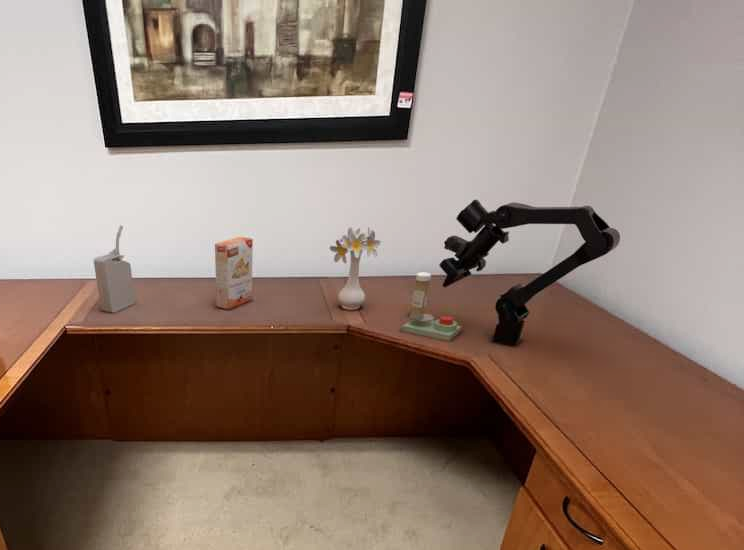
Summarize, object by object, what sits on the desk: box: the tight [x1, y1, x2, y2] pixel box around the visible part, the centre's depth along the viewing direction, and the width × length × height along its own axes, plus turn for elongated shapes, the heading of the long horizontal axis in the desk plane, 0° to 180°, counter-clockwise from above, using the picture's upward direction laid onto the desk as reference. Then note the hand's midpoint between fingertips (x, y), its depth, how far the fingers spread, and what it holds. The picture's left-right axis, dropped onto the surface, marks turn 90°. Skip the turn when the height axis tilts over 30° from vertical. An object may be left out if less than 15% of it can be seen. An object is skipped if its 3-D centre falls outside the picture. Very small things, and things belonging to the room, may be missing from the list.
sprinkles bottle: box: [409, 271, 432, 316], centre depth 181 cm, size 5×5×13 cm
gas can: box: [93, 224, 136, 314], centre depth 190 cm, size 15×5×25 cm, turn 150°
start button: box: [440, 315, 454, 325], centre depth 169 cm, size 4×4×2 cm
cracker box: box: [214, 236, 254, 310], centre depth 192 cm, size 14×6×21 cm, turn 143°
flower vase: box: [329, 226, 381, 311], centre depth 185 cm, size 13×18×25 cm
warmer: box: [401, 318, 462, 342], centre depth 172 cm, size 15×10×4 cm, turn 53°
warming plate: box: [409, 312, 434, 322], centre depth 173 cm, size 7×7×1 cm
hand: (443, 286), depth 171 cm, fingers closed
